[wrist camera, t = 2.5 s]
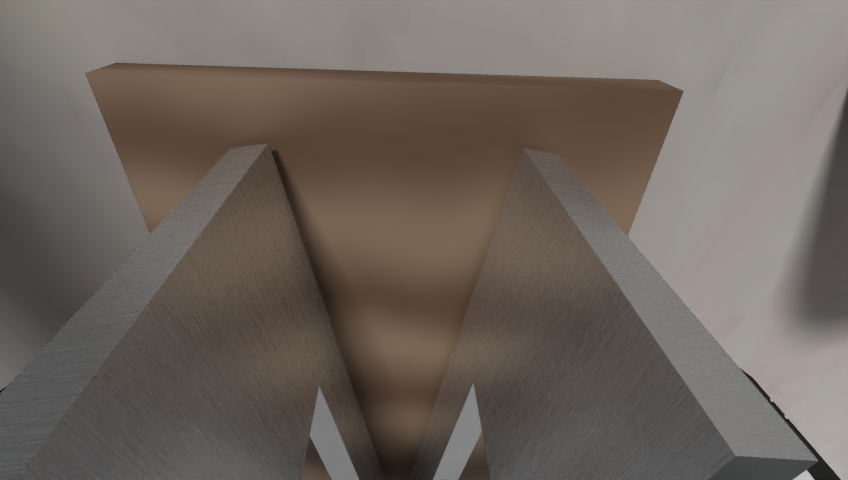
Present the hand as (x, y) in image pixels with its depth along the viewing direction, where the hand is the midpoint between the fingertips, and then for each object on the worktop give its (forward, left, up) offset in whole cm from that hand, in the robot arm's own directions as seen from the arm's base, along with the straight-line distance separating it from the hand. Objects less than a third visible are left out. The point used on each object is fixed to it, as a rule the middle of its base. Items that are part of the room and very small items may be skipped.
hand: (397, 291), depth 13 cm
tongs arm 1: (+8, -3, -3) cm, 9 cm away
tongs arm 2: (+8, +3, -3) cm, 9 cm away
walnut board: (+9, 0, -5) cm, 10 cm away
